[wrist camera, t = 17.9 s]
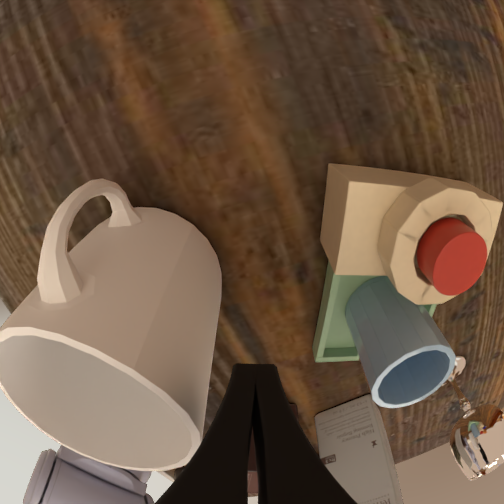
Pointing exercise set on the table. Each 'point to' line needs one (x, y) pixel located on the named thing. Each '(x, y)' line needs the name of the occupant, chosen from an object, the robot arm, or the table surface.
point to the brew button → (451, 256)
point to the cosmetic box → (358, 451)
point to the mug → (117, 335)
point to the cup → (396, 344)
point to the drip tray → (338, 318)
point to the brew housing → (396, 222)
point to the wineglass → (476, 433)
